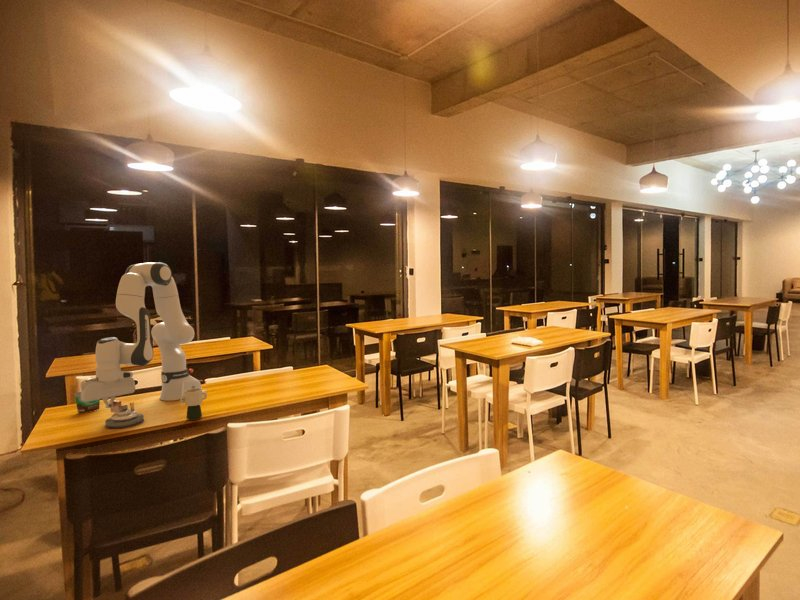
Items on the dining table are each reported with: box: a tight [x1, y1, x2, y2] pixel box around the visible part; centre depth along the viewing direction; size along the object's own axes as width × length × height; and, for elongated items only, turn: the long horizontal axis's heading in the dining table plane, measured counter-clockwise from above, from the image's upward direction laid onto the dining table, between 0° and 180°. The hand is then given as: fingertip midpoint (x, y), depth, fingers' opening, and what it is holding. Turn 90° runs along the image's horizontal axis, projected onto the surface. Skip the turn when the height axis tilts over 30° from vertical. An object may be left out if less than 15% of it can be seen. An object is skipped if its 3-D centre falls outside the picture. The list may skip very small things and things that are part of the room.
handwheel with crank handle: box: [104, 402, 145, 430], centre depth 189 cm, size 14×14×8 cm
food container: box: [73, 391, 101, 414], centre depth 207 cm, size 12×6×10 cm, turn 168°
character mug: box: [179, 387, 208, 421], centre depth 193 cm, size 11×7×13 cm, turn 128°
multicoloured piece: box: [109, 399, 139, 422], centre depth 190 cm, size 14×10×7 cm
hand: (109, 407), depth 190 cm, fingers closed
